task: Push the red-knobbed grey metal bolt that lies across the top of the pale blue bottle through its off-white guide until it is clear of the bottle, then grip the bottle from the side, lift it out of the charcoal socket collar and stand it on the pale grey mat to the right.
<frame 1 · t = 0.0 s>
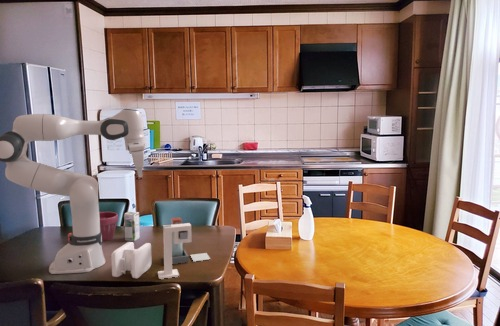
hand: (139, 175, 168), 39 cm above the table, tool pointing down, fingers open, 8 cm apart
bolt: (179, 228, 161), point 18 cm above the table, slide at 0.0 cm
pale blue bottle: (176, 245, 170), in the socket collar
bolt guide: (182, 273, 157), on the table
socket collar: (177, 260, 171), on the table
cable organizer: (132, 273, 157), on the table
syrup box: (132, 239, 199), on the table
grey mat: (200, 258, 174), on the table
plant pot: (104, 238, 200), on the table
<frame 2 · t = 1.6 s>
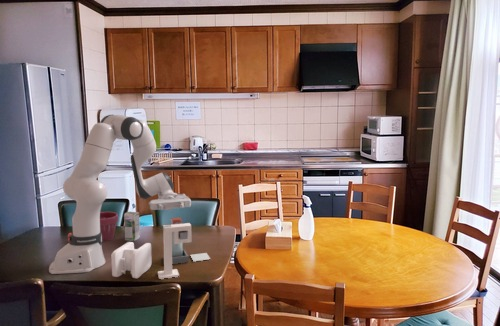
hand: (172, 207, 180), 22 cm above the table, tool horizontal, fingers open, 7 cm apart
nothing on the table moved.
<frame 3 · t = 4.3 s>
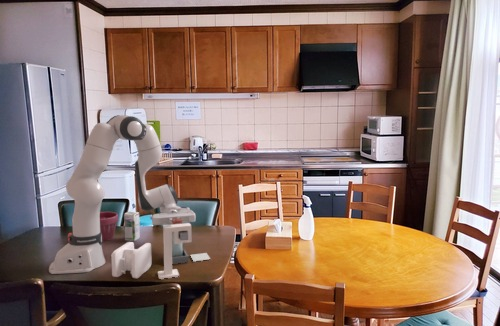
hand: (176, 222, 170), 17 cm above the table, tool horizontal, fingers closed, pressing on bolt
bolt: (180, 229, 160), point 18 cm above the table, slide at 1.4 cm, touching gripper
everything else where it was.
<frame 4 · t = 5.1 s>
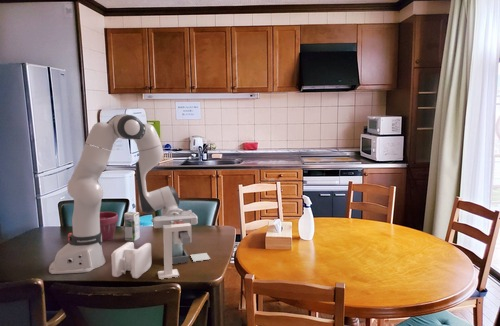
hand: (177, 225, 165), 17 cm above the table, tool horizontal, fingers closed, pressing on bolt
bolt: (182, 232, 155), point 17 cm above the table, slide at 6.0 cm, touching gripper
everything else where it was.
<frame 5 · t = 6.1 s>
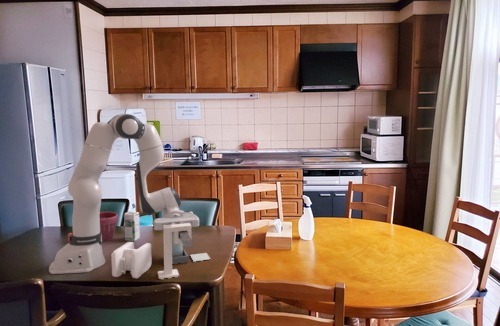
hand: (179, 227, 162), 17 cm above the table, tool horizontal, fingers closed, pressing on bolt
bolt: (183, 235, 152), point 18 cm above the table, slide at 9.4 cm, touching gripper
everything else where it was.
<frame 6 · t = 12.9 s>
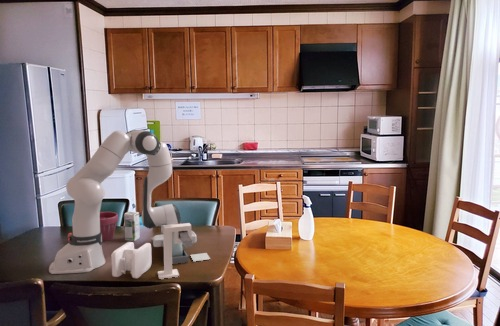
hand: (177, 244, 169), 8 cm above the table, tool horizontal, fingers closed on pale blue bottle, 5 cm apart
bolt: (183, 235, 152), point 18 cm above the table, slide at 9.4 cm
pale blue bottle: (176, 245, 170), in the socket collar, touching gripper
everything else where it was.
when the fingers open (10 cm above the table, at t = 16.9 s): pale blue bottle drops 1 cm, resting on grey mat.
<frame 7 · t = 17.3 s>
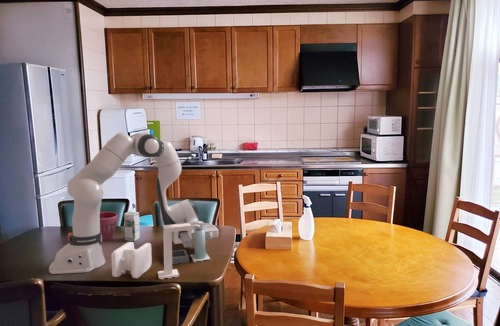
hand: (200, 238, 172), 10 cm above the table, tool horizontal, fingers open, 8 cm apart
pale blue bottle: (199, 242, 173), on the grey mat, point 8 cm above the table
everything else where it was.
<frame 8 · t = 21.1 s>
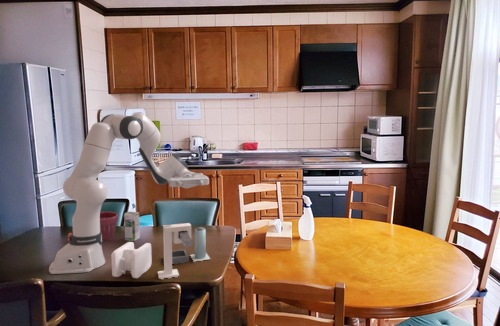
hand: (191, 184, 184), 32 cm above the table, tool horizontal, fingers open, 8 cm apart
nothing on the table moved.
at the end: bolt slide at 9.4 cm; pale blue bottle inside the target area (0.0 cm from its centre), point 7.5 cm above the table; pale blue bottle tilted 1° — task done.
